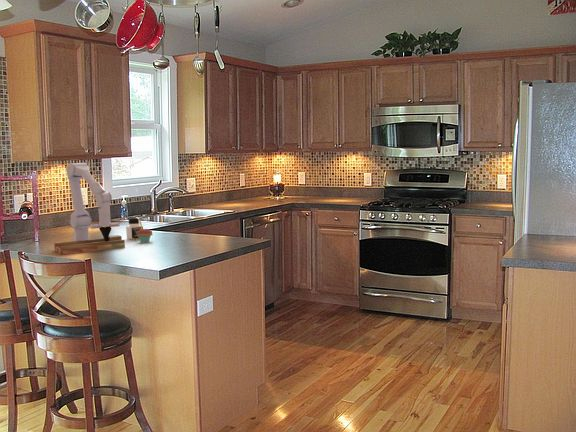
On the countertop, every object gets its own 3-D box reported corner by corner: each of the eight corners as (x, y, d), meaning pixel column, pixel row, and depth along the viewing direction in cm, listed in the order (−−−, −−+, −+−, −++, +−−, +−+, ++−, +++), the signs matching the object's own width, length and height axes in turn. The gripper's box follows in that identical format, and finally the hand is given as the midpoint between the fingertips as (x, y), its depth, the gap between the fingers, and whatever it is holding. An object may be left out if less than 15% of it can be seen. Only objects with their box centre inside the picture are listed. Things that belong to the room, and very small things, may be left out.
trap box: (54, 251, 324) (54, 243, 324) (116, 244, 341) (116, 236, 341) (61, 254, 312) (60, 246, 312) (124, 247, 329) (124, 239, 329)
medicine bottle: (132, 239, 356) (130, 218, 354) (126, 238, 361) (125, 217, 360) (143, 238, 360) (142, 217, 359) (138, 237, 366) (136, 216, 364)
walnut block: (107, 241, 334) (106, 236, 334) (118, 240, 337) (117, 234, 337) (110, 243, 329) (110, 237, 329) (121, 241, 332) (121, 236, 332)
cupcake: (137, 243, 342) (135, 221, 341) (136, 241, 350) (135, 219, 349) (153, 242, 344) (152, 220, 343) (152, 240, 353) (151, 218, 351)
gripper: (92, 217, 322) (94, 243, 324) (120, 214, 330) (122, 240, 331) (88, 216, 328) (90, 242, 330) (116, 213, 336) (118, 239, 337)
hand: (106, 241), depth 331 cm, fingers closed
